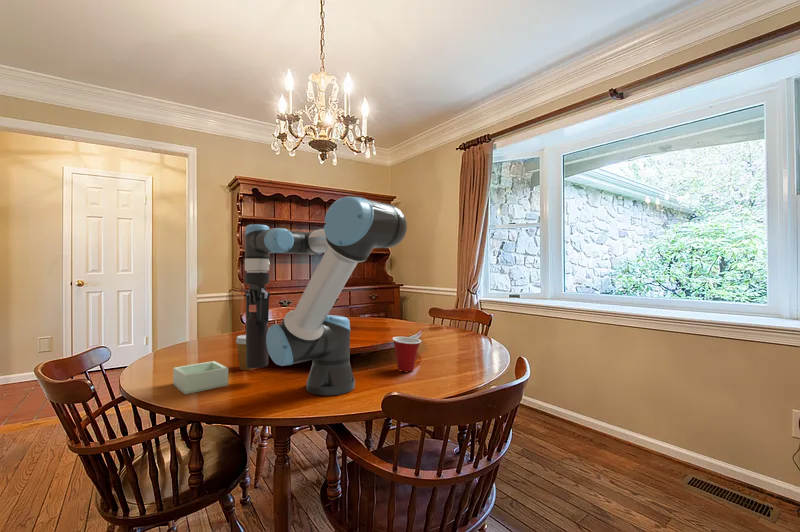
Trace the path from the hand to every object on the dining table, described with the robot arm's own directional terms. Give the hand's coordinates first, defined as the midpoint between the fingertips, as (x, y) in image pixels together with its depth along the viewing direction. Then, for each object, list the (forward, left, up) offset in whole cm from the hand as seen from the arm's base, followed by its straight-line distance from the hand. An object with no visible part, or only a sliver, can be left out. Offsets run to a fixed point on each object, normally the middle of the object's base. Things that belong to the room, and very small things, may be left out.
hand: (256, 343), depth 120 cm
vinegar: (-1, 0, -8) cm, 8 cm away
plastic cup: (-24, -47, -13) cm, 54 cm away
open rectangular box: (+10, +14, -13) cm, 22 cm away
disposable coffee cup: (+19, -6, -13) cm, 24 cm away
